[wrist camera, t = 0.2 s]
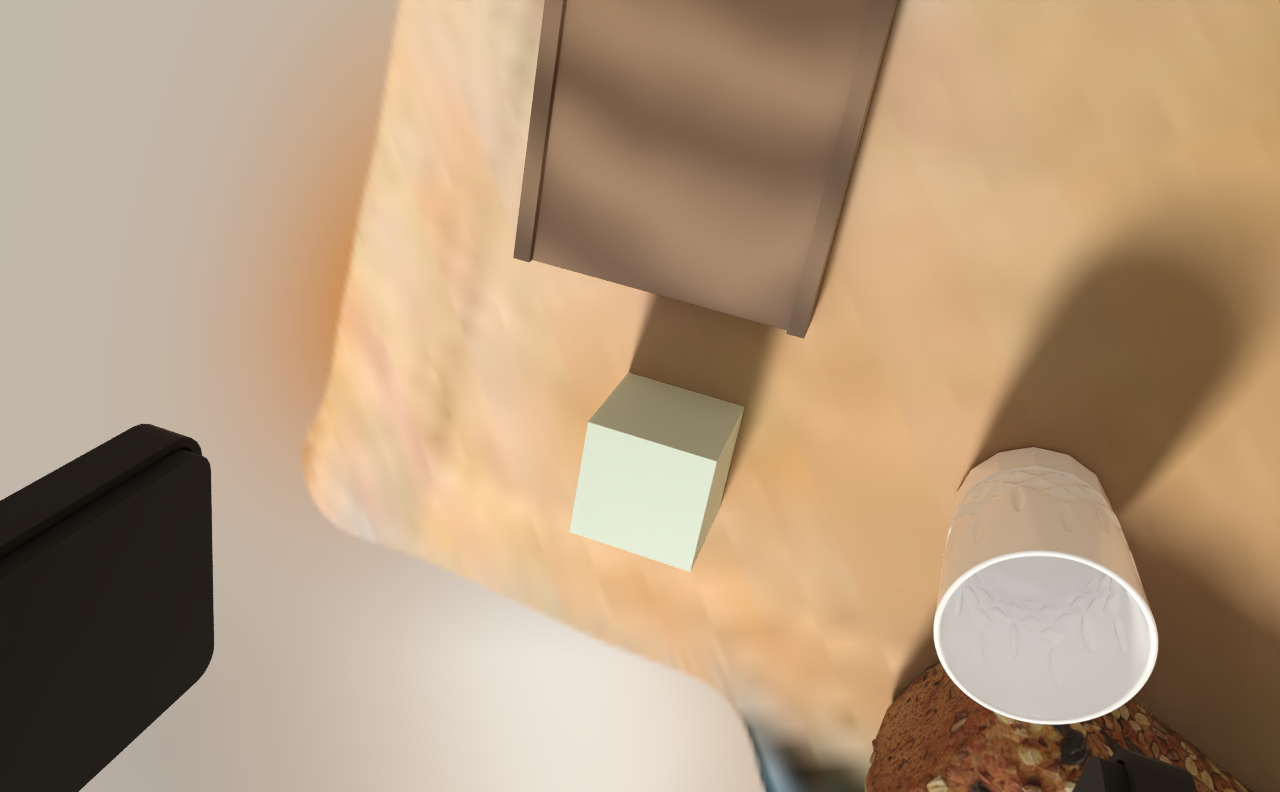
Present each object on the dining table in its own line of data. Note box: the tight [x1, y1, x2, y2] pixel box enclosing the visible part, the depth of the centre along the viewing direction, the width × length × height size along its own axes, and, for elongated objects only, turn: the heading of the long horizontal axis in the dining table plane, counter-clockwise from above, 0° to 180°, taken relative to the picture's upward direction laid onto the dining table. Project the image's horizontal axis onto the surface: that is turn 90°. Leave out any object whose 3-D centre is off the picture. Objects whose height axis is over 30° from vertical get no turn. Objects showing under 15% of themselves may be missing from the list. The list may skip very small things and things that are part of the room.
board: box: [513, 0, 898, 338], centre depth 43 cm, size 16×14×2 cm
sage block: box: [570, 373, 744, 572], centre depth 48 cm, size 6×6×6 cm
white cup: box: [934, 447, 1158, 724], centre depth 42 cm, size 8×8×10 cm
